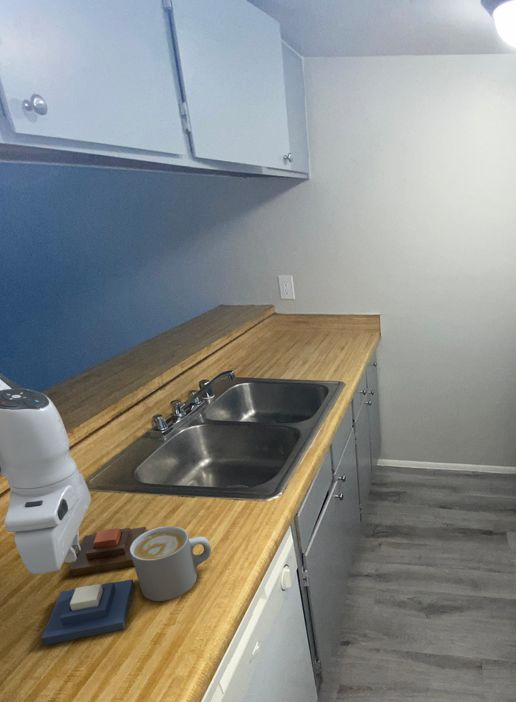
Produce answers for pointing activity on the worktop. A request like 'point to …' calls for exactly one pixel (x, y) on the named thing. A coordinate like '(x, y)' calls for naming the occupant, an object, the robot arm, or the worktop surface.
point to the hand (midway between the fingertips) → (73, 556)
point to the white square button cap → (86, 597)
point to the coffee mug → (167, 561)
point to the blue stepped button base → (90, 614)
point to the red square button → (107, 538)
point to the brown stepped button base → (105, 553)
